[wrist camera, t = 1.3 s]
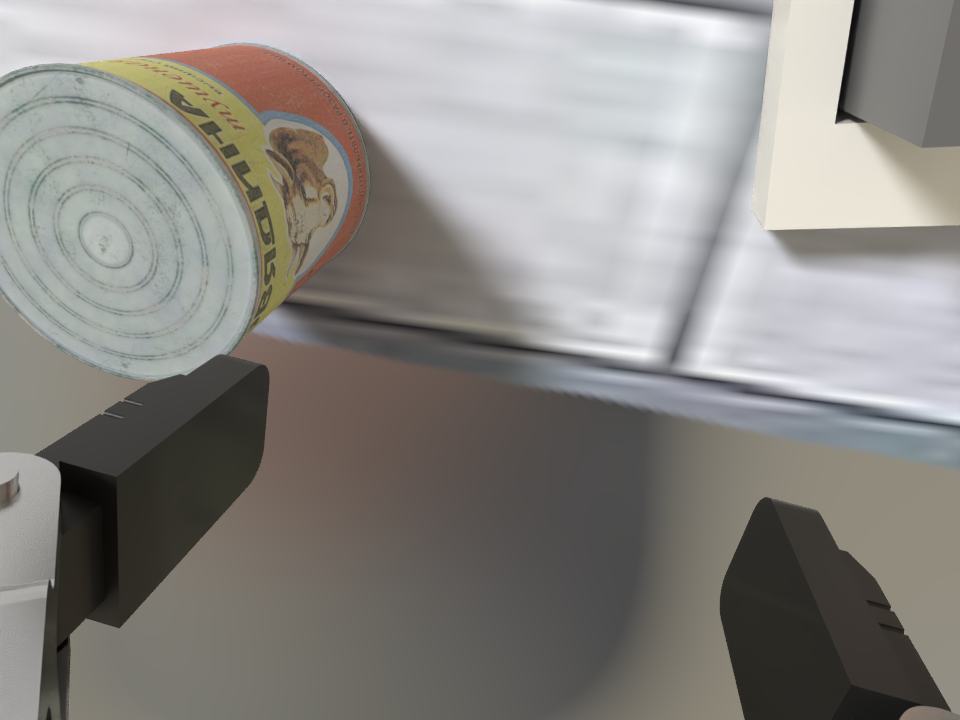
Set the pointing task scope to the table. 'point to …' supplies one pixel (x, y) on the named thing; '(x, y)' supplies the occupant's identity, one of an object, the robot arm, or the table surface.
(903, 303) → the table surface
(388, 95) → the table surface
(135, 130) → the canned food
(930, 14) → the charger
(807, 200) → the power strip
